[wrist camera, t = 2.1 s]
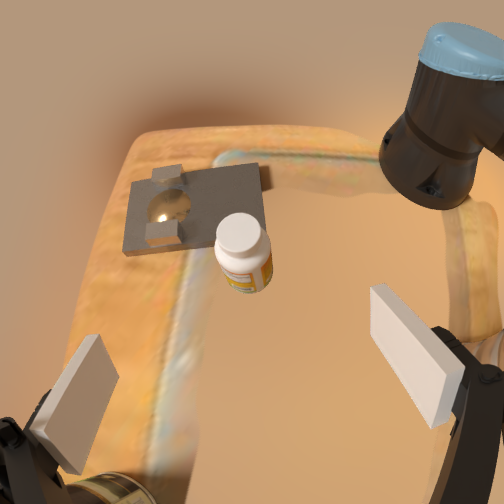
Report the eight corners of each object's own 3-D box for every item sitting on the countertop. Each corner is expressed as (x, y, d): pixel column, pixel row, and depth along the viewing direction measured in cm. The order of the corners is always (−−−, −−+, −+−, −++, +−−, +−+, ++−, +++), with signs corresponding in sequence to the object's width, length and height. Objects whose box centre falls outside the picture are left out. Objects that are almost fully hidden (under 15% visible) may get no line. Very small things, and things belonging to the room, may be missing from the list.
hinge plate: (258, 169, 43) (256, 152, 40) (267, 240, 38) (265, 225, 35) (135, 188, 44) (126, 173, 41) (127, 256, 39) (115, 244, 36)
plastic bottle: (478, 386, 28) (604, 355, 10) (433, 412, 27) (562, 407, 9) (462, 338, 30) (581, 275, 12) (418, 361, 30) (538, 313, 12)
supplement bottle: (258, 243, 38) (251, 196, 29) (281, 280, 36) (281, 240, 27) (218, 264, 37) (198, 222, 29) (239, 303, 35) (224, 270, 26)
